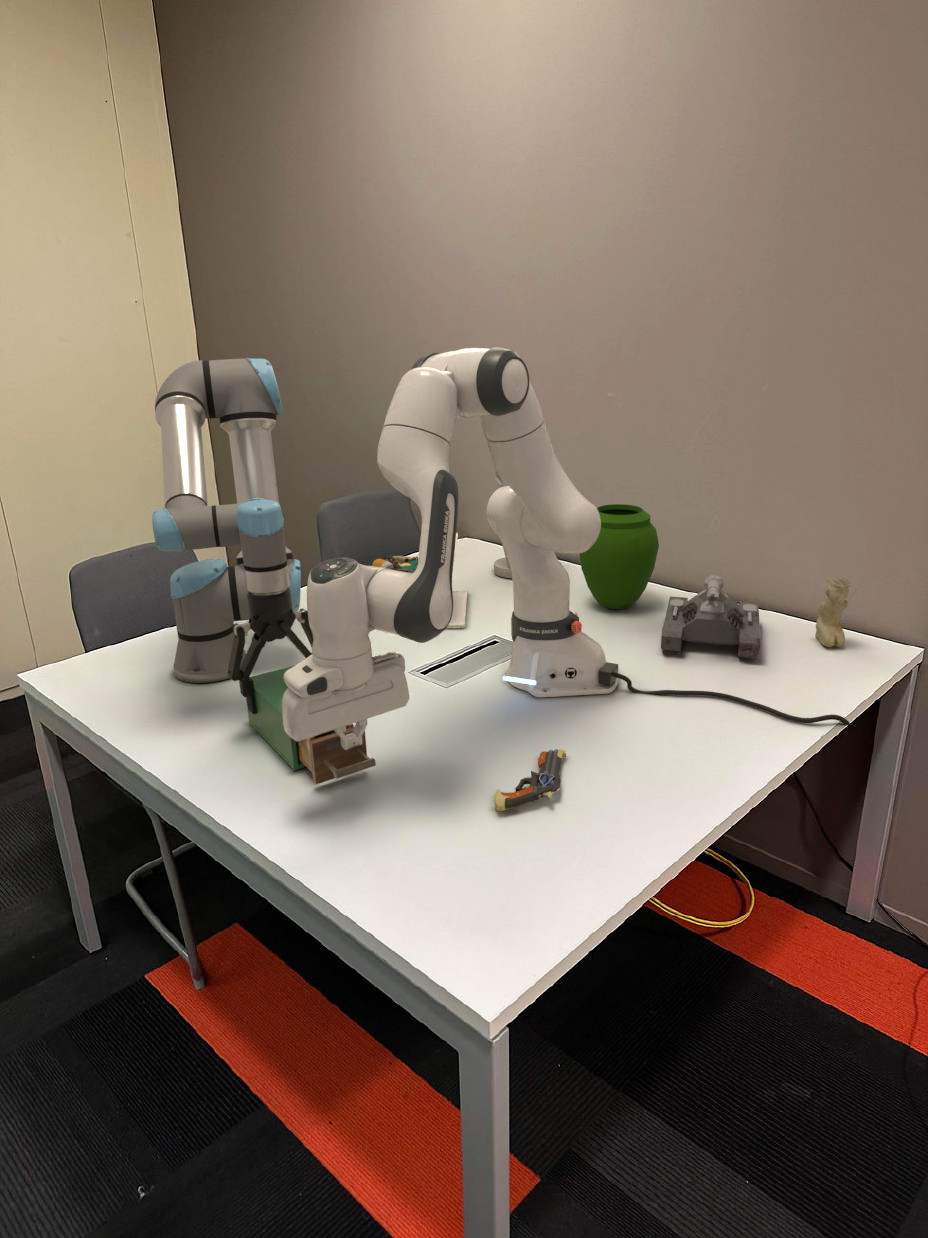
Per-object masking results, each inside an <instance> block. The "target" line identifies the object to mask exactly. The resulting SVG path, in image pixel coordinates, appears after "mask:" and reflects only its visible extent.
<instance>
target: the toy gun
mask: <svg viewBox="0 0 928 1238" xmlns="http://www.w3.org/2000/svg"><path fill="white" fill-rule="evenodd" d="M564 758H567V750H565V749H558V748H555V749H554V750H553V749H548V750H547V751H541V752H540V753H539V757H538V759H537V766H538V768H539V771H538V772H536V771H532V770H530V776H531V777H523V778H521V779H520V780H519V783H518V784H517V786H516V787H515V789H514V790H515V791H513V792H503V791H501V789H499V788H498V789H497V790H496V791H495V793H494V796H493V802H494V808H495V810H496V811H497V812H503V811H506V810H510V809H513V808H518V807H521V806H523V805H526V804H529V803H534V802H535V801H539V800H541V799H543V798H545V797H548V799H551V798H552V797H553V795H555V793H556V792H557V791H560V790H561V783H562V782H561V781H562V779H561V774H560V773H561V768H562V763H563V759H564ZM539 784H540V785H539ZM525 785H529V786H525Z"/></svg>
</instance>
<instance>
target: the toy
mask: <svg viewBox="0 0 928 1238" xmlns="http://www.w3.org/2000/svg"><path fill="white" fill-rule="evenodd" d="M724 585H725V582H724V579H723V578H722V577H721V576H720V575H718V574H710V575H709V576H708V577H706V578H705V580H704V584H703V586H704V589H703V590H702V591H700V592H697V594H696V595H695V596H693V597H691V599H688V597H684V596H683V597H682V596H669V599H668V603H667V608H666V611H665V617H664V621H663V625H662V630H661V639H660V648H661V651H662V653H665V654H678V655H680V654H681V650H682V644H683V641H685V642H688V643H697V644H710V645H712V644H713V645H724V646H735V645H737V658H739V659H749V660H751V659H752V660H757V659H758V658H759V655H760V649H761V625H760V624H761V623H760V608H759V607H760V606H759V602H755V601H743V600H742V601H741V600H739V603H738V602H737V601H736V600H735V599H734V598H732V597H731V596H730V595H729V594H728V593H726V592H724V591H723V588H724Z"/></svg>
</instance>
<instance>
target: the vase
mask: <svg viewBox="0 0 928 1238" xmlns="http://www.w3.org/2000/svg"><path fill="white" fill-rule="evenodd" d="M596 508H597V509H598V511H599V514H600V518H601V529H600V533H599V536H598V538H597V540H596V542H595V543H594V545H593V546H592V547H591V548H590V549H589V550H587V551H585V552H583V553H578V554H579V562H580V569H581V571H582V574H583V577H584V580H585V583H586V585H587V588H588V590H589V591H590V594H592V597H593V598H594V600H595V601H596V602H597V603H598V604H599V605H600V606H602V607H604V608H606V609H609V610H625V609H628V608H630V607H632V606H634V604H636V602H638V601H639V599H640V597H641V596H642V595H643V593H644V592H645V590H646V588H647V586H648V584H649V581H650V579H651V577H652V574H653V572H654V570H655V566H656V562H657V557H658V552H659V548H660V544H659V543H660V542H659V537H658V531H657V528H656V527H655V526H654V524H653V523H652V522H651V515H650V514H649V512H647V511H645V510H644V509H643V508H642V507H641V506H638V505H633V504H622V503H621V504H619V503H616V504H615V503H614V504H604V505H601V506H598V507H596Z"/></svg>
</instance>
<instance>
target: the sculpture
mask: <svg viewBox="0 0 928 1238" xmlns="http://www.w3.org/2000/svg"><path fill="white" fill-rule="evenodd" d="M826 581H827V586H826V588H825V590H824V593H825V595H826V596H827V598H826V600H824V601H822V602H821V603H820V604H819V605H818V606H817V609H816V610H817V612H818V614H819V616H818V617H817V619H816V623H815V630H816V631H815V634H814V635H815V639H817V640H819V642H820V643H821V644H822V645H823V646H825V647H827V648H832V647H834V646H835V647H843V646H844V645H845V643H846V642H845V641H846V636H845V632H844V630H843V626H842V624H841V622H840V621H841V617H842V615H843V612H844V610H845V609H846V608H847V606H848V604H849V603H848V602H849V601H847V598H848V597H849V592H850V586H851V585H852V582H850V580H848V579H847V578H845V577H841V576H840V577H835V578H831V577H827V578H826Z"/></svg>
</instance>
